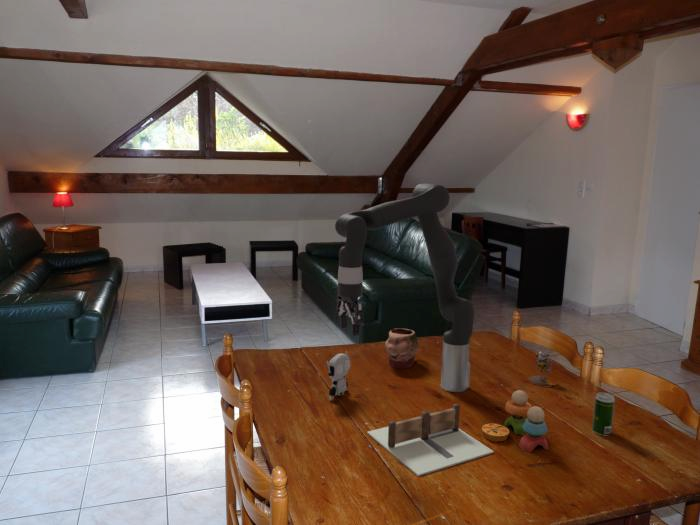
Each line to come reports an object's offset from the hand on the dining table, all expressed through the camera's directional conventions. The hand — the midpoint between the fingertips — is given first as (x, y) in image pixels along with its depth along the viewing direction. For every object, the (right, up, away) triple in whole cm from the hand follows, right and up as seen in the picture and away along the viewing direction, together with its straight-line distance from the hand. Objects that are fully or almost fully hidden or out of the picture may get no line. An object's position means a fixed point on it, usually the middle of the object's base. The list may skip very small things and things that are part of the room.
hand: (349, 331), depth 175 cm
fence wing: (+16, -30, -13) cm, 37 cm away
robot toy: (-3, -25, +19) cm, 32 cm away
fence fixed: (+27, -30, -7) cm, 41 cm away
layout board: (+23, -31, -11) cm, 40 cm away
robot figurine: (+72, -24, +34) cm, 83 cm away
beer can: (+77, -31, -3) cm, 83 cm away
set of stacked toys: (+49, -31, -8) cm, 59 cm away
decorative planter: (+21, -20, +51) cm, 59 cm away
